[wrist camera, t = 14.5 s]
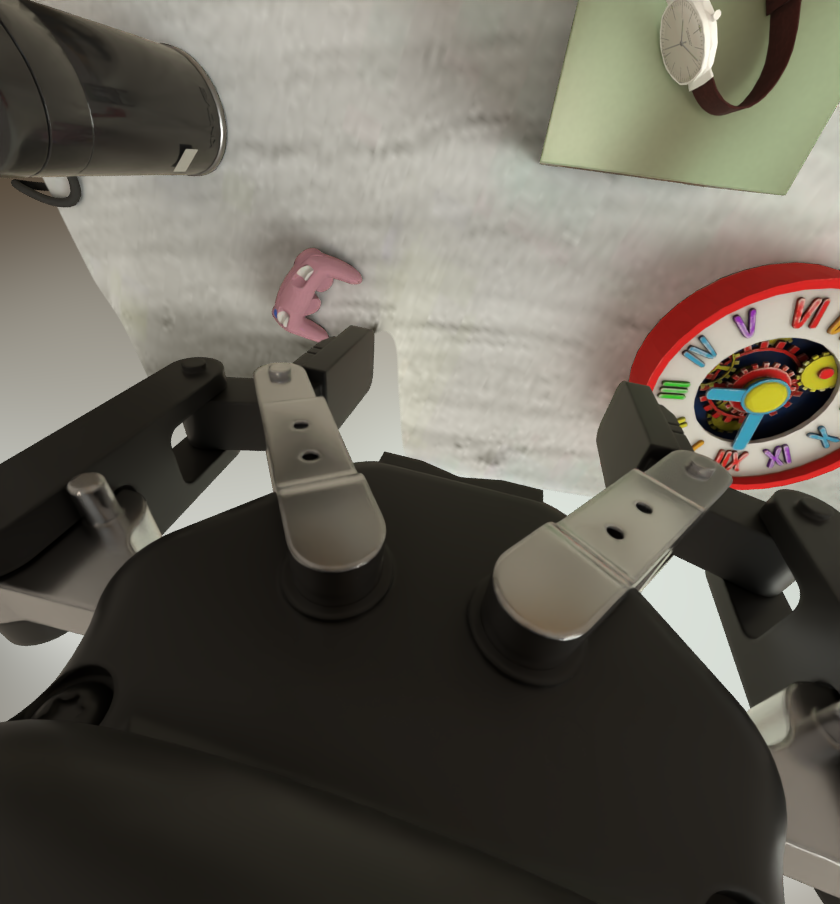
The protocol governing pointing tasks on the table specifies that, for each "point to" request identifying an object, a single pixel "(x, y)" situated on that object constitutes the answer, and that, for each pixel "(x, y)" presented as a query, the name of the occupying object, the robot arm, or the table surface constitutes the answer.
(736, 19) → the small side table
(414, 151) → the table surface
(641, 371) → the toy clock
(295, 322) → the video game controller
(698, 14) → the watch
